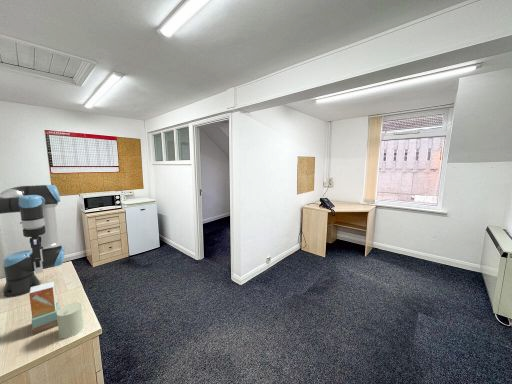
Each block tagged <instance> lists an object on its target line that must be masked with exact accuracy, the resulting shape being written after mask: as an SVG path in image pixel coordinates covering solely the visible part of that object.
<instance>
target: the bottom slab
mask: <svg viewBox="0 0 512 384" xmlns="http://www.w3.org/2000/svg"><path fill="white" fill-rule="evenodd" d="M30 327H31V335H32V337H33V336H37V335H39V334H41V333H44V332H47V331H50V330H51V329H54V328H56V327H57V328H58V321H57V320H54V321H51V322H48V323H46V324H43V325H40V326H37V327H35V328H33V327H32V326H30Z"/></svg>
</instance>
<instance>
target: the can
mask: <svg viewBox="0 0 512 384" xmlns="http://www.w3.org/2000/svg"><path fill="white" fill-rule="evenodd" d="M56 315H57V321H58V326H57V328H58V337H59V338H60V339H68V338H72V337H73V336H76V335H77V334H79V333H80V332H82V330H83V329H84V328H85V324H84V318H83V316H84V315H83V304H82V303H81V302H72V303H68V304H66V305H63V306H61V307H59V310H58V311H57V313H56Z"/></svg>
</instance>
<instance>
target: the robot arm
mask: <svg viewBox="0 0 512 384" xmlns="http://www.w3.org/2000/svg"><path fill="white" fill-rule="evenodd" d="M60 202H61V197H60V192H59V189H58V188H57V186H56V185H54V184H39V185H36V184H35V185H19V186H16V187H12V188H8V189H5V190H3V191H2V192H0V215H1V214H12V213H13V214H14V213H19V214H20V218H21V219H20V220H21V221H20V222H19V224H20V225H21V226H22V228H23V229H22V234H23V235H22V236H23V237H25V238H29V244H30V248H31V250H22V251H19V252H15V253H13V254H9V255H8V256H6V257H5V258H4V259H3V271H4V274H5V275H4V276H5V277H4V278H5V284H4V286H3V291H2V292H3V296H4V297H7V298H10V297H11V298H13V297H19V296H22V295H26V294H28V293H30V289H31V287H34V286H38V285H41V284H40V280H39V278H38V277H37V276H36V275H38V274H42V273H44V270H45V269H50V268H56V267H59V266H62V265H63V264H64V259H65V252H66V251H65V247H63V246H62V244H61V243H59V239H58V227H57V217H56V215H57V214H56V207H57V206H59V205H58V204H59V203H60Z"/></svg>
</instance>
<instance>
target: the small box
mask: <svg viewBox="0 0 512 384" xmlns="http://www.w3.org/2000/svg"><path fill="white" fill-rule="evenodd" d="M28 293H29V294H28V295H29V303H30V310H31V319H32V318H35V317H38V316H41V315H44V314H47V313H50V312H54V311H56V303H57V299H56V290H55V281H51V282H46V283H45V282H44V283H41V284H40V285H38V286H34V287H31V289H30V292H28Z"/></svg>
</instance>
